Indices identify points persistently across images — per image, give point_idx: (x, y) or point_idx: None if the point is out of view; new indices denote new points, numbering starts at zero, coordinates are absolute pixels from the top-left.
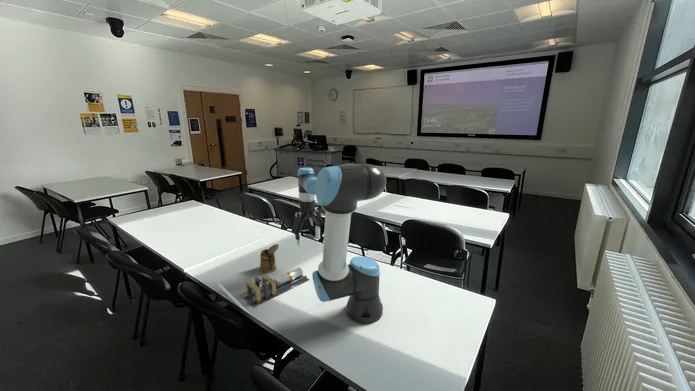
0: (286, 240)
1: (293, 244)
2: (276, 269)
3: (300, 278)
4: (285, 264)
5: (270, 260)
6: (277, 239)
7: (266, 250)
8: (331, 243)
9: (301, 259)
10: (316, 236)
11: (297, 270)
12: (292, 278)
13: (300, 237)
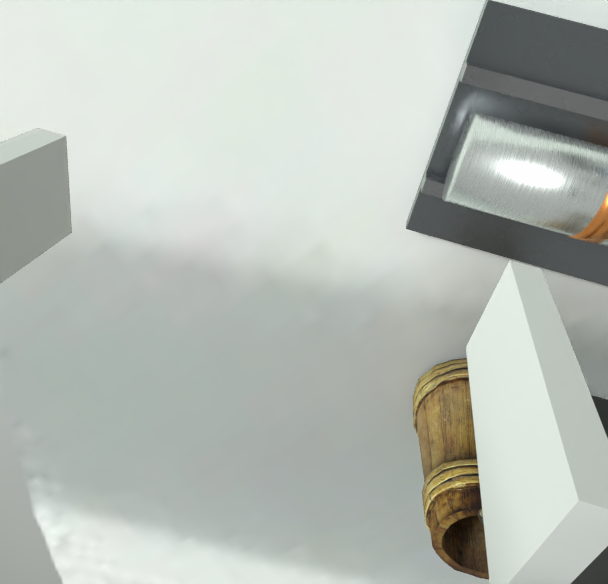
0: (107, 497)
1: (110, 445)
2: (456, 366)
3: (537, 91)
4: (341, 356)
5: None
6: (135, 537)
7: (454, 554)
8: None
9: (219, 301)
10: (50, 222)
11: (518, 162)
12: (604, 146)
13: (576, 398)
